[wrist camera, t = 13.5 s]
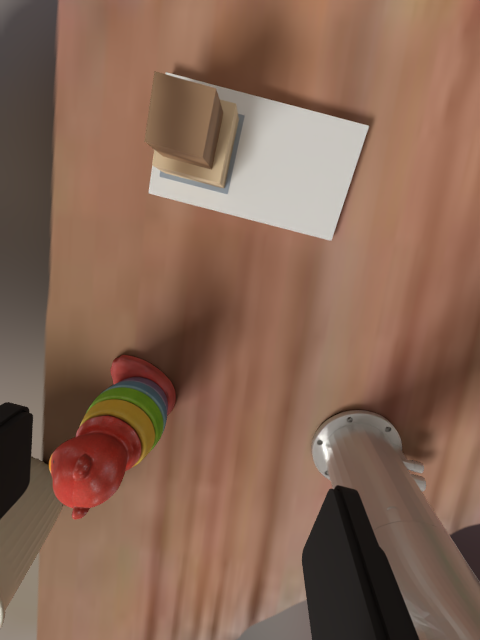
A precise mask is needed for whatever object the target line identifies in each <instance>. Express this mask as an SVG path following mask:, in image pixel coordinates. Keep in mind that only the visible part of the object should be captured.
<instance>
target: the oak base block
mask: <svg viewBox="0 0 480 640" xmlns="http://www.w3.org/2000/svg"><path fill="white" fill-rule="evenodd" d="M219 100H220V99H219ZM220 103H221V106H222V110H223V113H224V114H223V118H222V123H221V128H220V133H219V138H218V142H217V147H216V152H215V157H214V162H213V167H212V170H211V169H207V168H204V167H200V166H196V165H192V164H189V163H185V162H181V161H178V160H174V159H170V158H167V157H163V156H162V155H161V154H159V153H158V152H157V151H156V150H154V156H153V163H152V165H153V166H154V167H156V168H157V169H159V170H160V171H162V172H164V173H166V174H170V175H174V176H178V177H181V178H185V179H189V180H193V181H197V182H201V183H204V184H208V185H212V186H216V187H220V188H224V187H225V183H226V178H227V173H228V169H229V164H230V159H231V155H232V150H233V145H234V140H235V136H236V131H237V126H238V122H239V117H238V111H237V105H236V103H232V102H228V101H224V100H220Z"/></svg>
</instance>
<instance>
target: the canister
mask: <svg viewBox="0 0 480 640" xmlns="http://www.w3.org/2000/svg"><path fill="white" fill-rule="evenodd" d="M62 506H63V503H61V502H60V501H59V500H58V499H57V497H56V496H55V493H54V490H53V478H52V475H51V473H50V470H49V465H48V464H45V463H44V462H43V461H40V460H39V459H35V458H33V457H31V469H30V483H29V486H28V488H27V490H26V491H25V493H24V494H23V495H22V496H21V497H20V498H19V500H18V501H17V502H16V503H15V504H14V505H13V506H12V507H11V508H10V510H9V511H8V512H7V513H6V514H5V515H4V516H3V517H2V518H1V519H0V628H1V627H2V624H3V621H4V618H5V610H6V608H7V606H8V605H9V603H10V601H11V599H12V598H13V596H14V594H15V593H16V591H17V589H18V587H19V586H20V584H21V582H22V580H23V579H24V577H25V575H26V573H27V571H28V570H29V568H30V566H31V565H32V563H33V561H34V559H35V558H36V556H37V554H38V552H39V551H40V549H41V547H42V545H43V544H44V542H45V540H46V538H47V536H48V534H49V532H50V531H51V529H52V527H53V525H54V523H55V521H56V519H57V518H58V516H59V514H60V511H61V509H62Z"/></svg>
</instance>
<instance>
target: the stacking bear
mask: <svg viewBox="0 0 480 640" xmlns="http://www.w3.org/2000/svg"><path fill="white" fill-rule="evenodd" d="M111 375H112V379H113V384H114V385H112V386H111V387H109V388H108V389H106V390H105V391H103V392H102V393H101V394H100V395H99V396H98V397H97V398H96V399H95V400H94V401H93V403H92V404H91V406H90V407H89V409H88V410H87V412H86V415H85V416H84V418H83V420H82V422H81V424H80V427H79V429H78V430H77V433H76V437H74V438H72V439H70V440H68V441H66V442H64V443H63V444H61V445H60V446H58V447H57V448H56V449H55V451H54V452H53V453H52V455H51V457H50V460H49V470H50V473H51V475H52V478H53V490H54V493H55V496H56V497H57V499H58V500H59V501H60V502H61V503H63V504H64V505H66V506H68V507H71V508H74V509H73V512H72V518H73V519H80V518H82V517H83V516H85V515H86V513H87V512H88V510H89V509H90V508H91V507H95V506H97V505H99V504H101V503H103V502H105V501H106V500H108V499H109V498H110V497H111V496H112V495H113V494H114V493H115V492H116V491H117V489H118V488H119V486H120V484H121V482H122V479H123V477H124V474H125V471H127V470H129V469H130V468H132V467H134V466H136V465H137V464H138V463H140V462H141V461H142V460H143V459H144V458H145V457H146V456H147V454H148V453H149V452H150V451H151V450H152V449H153V448H154V446H155V445H156V444H157V442H158V441H159V439H160V437H161V435H162V433H163V431H164V428H165V424H166V420H167V416H168V415H169V414H170V412H171V411H172V409H173V407H174V405H175V401H176V394H175V389H174V387H173V385H172V383H171V381H170V380H169V379H168V378H167V376H166V375H165V374H164V373H163V372H161V371H160V370H159V369H158V368H156V367H155V366H153V365H152V364H150V363H148V362H146V361H144V360H142V359H140V358H137V357H133V356H129V355H121V356H120V357H119V358H116V359H115V360H114V361H113V363H112V367H111Z"/></svg>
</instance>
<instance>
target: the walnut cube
mask: <svg viewBox="0 0 480 640" xmlns="http://www.w3.org/2000/svg"><path fill="white" fill-rule="evenodd" d="M223 114H224V113H223V110H222V106H221V103H220V100H219V96H218V93H217V89H216V88H213V87H210V86H206V85H202V84H199V83H195V82H191V81H188V80H184V79H181V78H177V77H173V76H170V75H166V74H162V73H159V72H155V71H154V78H153V85H152V92H151V99H150V106H149V113H148V120H147V127H146V134H145V141H144V142H146V143H147V144H148V145H149V146H151V147H152V148H153V149H154V150H156V151H157V152H158V153H159V154H161V155H162V156H163V157H167V158H170V159H174V160H178V161H181V162H185V163H189V164H192V165H196V166H200V167H204V168H207V169H211V170H212V167H213V162H214V157H215V152H216V147H217V142H218V138H219V133H220V128H221V123H222V118H223Z"/></svg>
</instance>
